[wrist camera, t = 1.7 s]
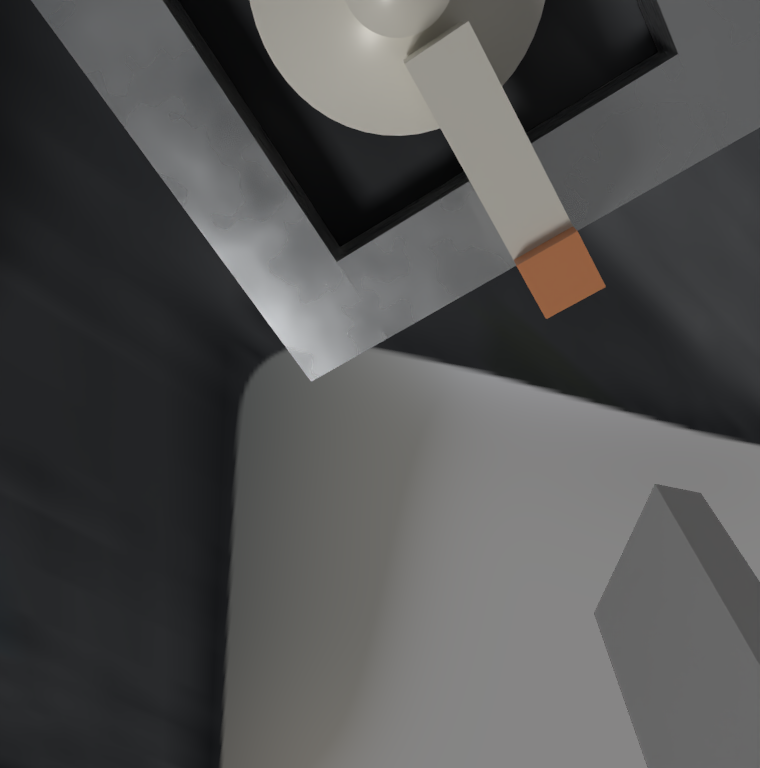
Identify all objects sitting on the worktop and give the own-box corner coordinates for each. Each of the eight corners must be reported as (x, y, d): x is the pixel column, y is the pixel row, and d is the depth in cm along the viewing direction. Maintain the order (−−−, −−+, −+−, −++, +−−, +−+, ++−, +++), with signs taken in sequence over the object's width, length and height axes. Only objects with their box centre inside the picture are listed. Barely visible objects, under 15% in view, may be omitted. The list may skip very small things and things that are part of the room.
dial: (203, -70, 23) (146, -99, 18) (448, -263, 21) (468, -361, 16) (437, 307, 29) (447, 372, 23) (651, 185, 27) (716, 226, 21)
